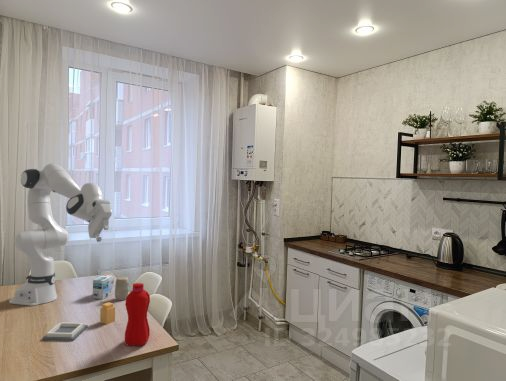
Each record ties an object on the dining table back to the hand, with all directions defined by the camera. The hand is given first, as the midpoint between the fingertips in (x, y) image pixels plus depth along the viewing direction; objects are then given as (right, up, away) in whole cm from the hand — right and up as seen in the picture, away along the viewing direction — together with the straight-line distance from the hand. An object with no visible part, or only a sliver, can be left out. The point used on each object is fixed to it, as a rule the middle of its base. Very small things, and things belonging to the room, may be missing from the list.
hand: (103, 235), depth 157 cm
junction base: (-14, -42, -6) cm, 45 cm away
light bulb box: (-18, -41, +41) cm, 60 cm away
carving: (-5, -41, +37) cm, 55 cm away
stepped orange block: (-1, -42, +7) cm, 43 cm away
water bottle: (+19, -44, -10) cm, 49 cm away
